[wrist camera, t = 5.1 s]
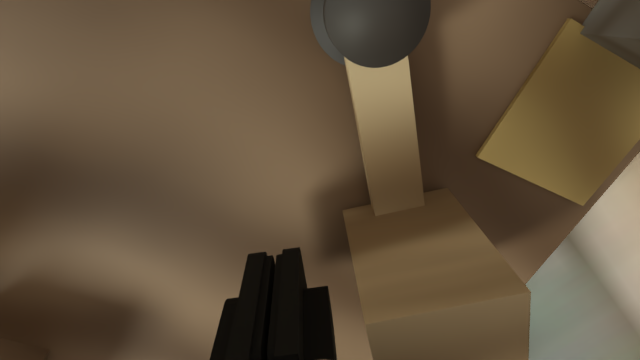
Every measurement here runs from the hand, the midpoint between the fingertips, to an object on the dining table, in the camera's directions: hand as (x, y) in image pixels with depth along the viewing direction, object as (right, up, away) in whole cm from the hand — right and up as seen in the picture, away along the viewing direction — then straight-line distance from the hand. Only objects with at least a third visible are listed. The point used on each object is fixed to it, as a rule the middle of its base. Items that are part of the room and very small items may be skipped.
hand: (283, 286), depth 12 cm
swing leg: (+3, +4, 0) cm, 6 cm away
